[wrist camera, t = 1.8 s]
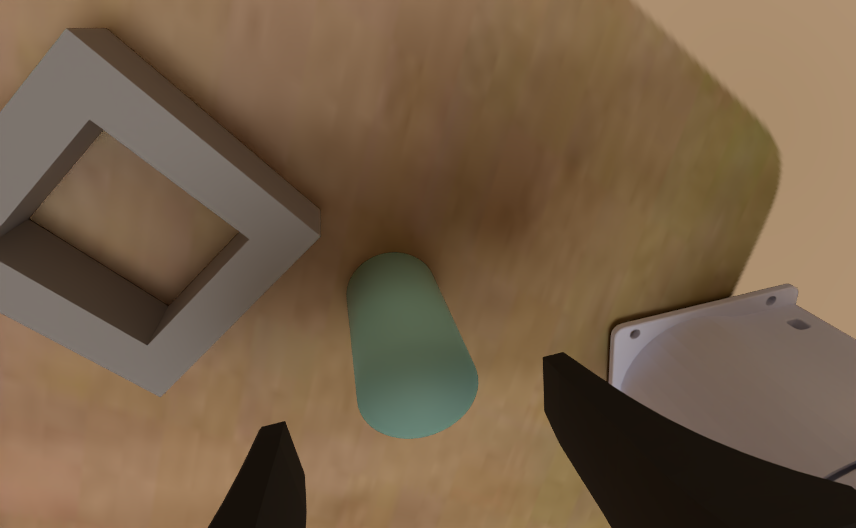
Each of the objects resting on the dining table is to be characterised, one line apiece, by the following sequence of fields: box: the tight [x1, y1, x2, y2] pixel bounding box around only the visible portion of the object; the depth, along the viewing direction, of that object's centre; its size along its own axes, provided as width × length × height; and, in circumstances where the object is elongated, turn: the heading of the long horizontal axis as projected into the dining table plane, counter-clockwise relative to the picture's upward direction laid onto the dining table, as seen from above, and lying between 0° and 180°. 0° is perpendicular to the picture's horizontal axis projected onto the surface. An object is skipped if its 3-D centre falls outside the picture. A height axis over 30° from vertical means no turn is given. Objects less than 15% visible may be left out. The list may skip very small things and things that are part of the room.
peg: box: [347, 252, 478, 439], centre depth 17 cm, size 4×4×6 cm
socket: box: [0, 28, 321, 397], centre depth 15 cm, size 8×8×2 cm
